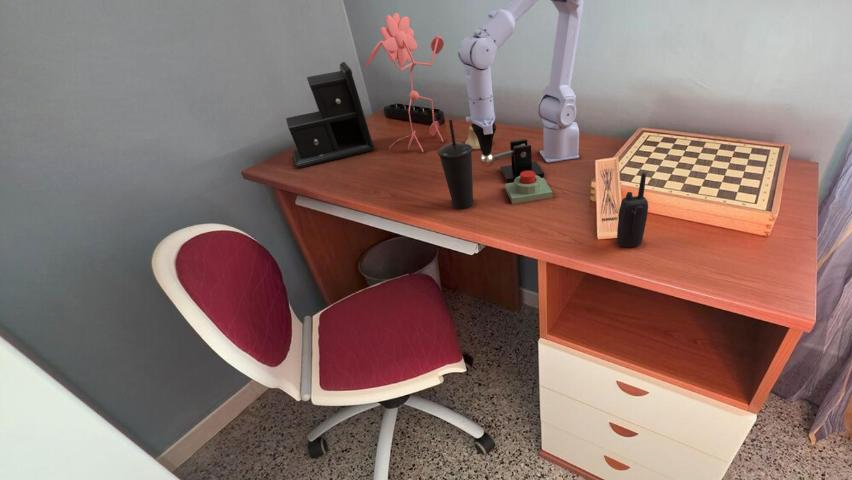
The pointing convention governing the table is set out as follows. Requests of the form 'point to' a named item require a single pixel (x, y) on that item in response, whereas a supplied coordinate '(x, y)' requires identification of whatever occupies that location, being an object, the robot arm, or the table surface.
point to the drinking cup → (458, 171)
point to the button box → (528, 190)
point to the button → (527, 177)
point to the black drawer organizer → (331, 121)
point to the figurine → (405, 57)
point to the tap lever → (495, 157)
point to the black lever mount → (520, 162)
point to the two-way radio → (632, 217)
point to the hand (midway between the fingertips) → (486, 153)
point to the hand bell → (472, 139)
